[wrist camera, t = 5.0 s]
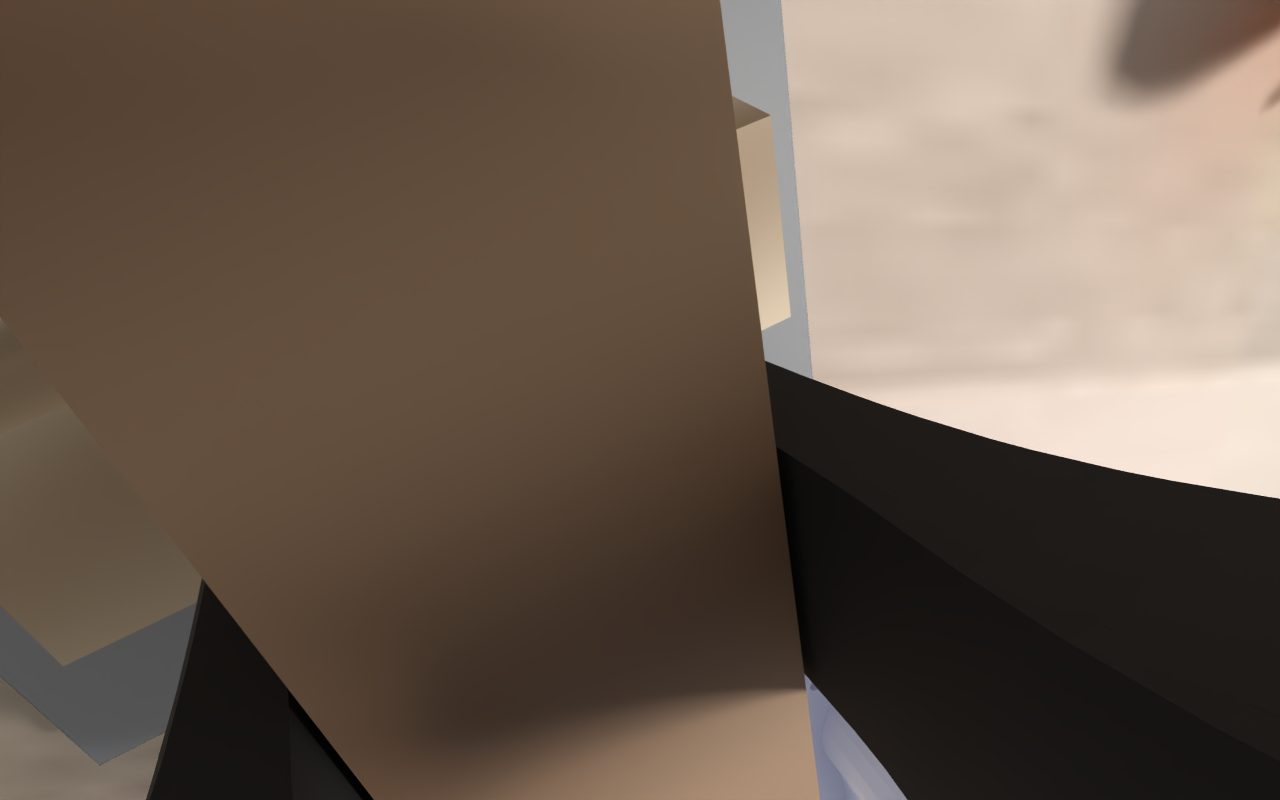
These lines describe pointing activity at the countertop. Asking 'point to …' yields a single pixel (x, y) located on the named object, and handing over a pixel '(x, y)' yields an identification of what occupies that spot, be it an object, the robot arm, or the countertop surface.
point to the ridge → (124, 526)
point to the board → (153, 656)
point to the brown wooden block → (430, 369)
